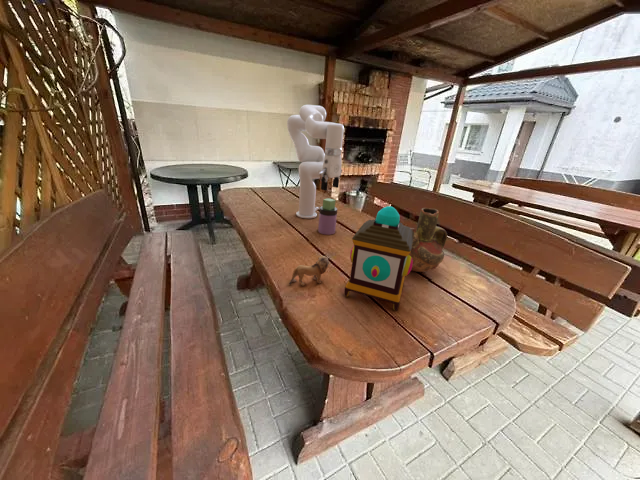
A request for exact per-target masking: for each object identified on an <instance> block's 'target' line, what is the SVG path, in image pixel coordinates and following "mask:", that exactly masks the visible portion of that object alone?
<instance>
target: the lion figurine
mask: <svg viewBox="0 0 640 480" xmlns="http://www.w3.org/2000/svg"><path fill="white" fill-rule="evenodd" d="M329 265H330V261H329V257H327V256H325V255H321V256H319V257H318V259H317V260H316V261H315V263H313V264H311V265H304V264H299V265H297V266H296V267H295V268H294V270H293V272H292V274H291V275H292V276H291V280H290V282H288V285H291V284H292V283H293V282H294V283H295V282H296V279H295V278H296V277H298V283H299V284H300V286H302V287H303V286H305V285H306V284H305V282H303V278H304V277H305V275H306V276H307V277H308V276H309V277H313V280H315V281H316V282H317V284H321V283H322V281H321V276H322V275H323V274H325V273H326V271H327V269H328V267H329Z"/></svg>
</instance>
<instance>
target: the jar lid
mask: <svg viewBox="0 0 640 480" xmlns="http://www.w3.org/2000/svg"><path fill="white" fill-rule="evenodd" d="M318 211H319V213H320V214H323V215H328V216H333V215H336V214H337V215H338V208H337V207H336V206H335V209H332V210H327V209H324V208H323V205H322V206H319V210H318ZM319 213H318V214H319Z"/></svg>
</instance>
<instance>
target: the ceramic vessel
mask: <svg viewBox="0 0 640 480" xmlns="http://www.w3.org/2000/svg"><path fill="white" fill-rule="evenodd" d="M439 212H440V210H438V209H436V208H429V207H422V208H421V209H420V212H419V217H418V221H417V225H416V228H414V227H410V229H412V230H413V232H414V238H413V243H412V248H411V252H410V253H409V255H410V256H411V257H412V260H413V264H412V269H411V271H413V272H422V273H424V272H428V271H430V270H435V269H436V268H437V267H439V265H440V264H441V263H442V262H443V261H444V258H445V251H443V250H444V247H445V244H446V242H447V239H448V233H447V231H446V230H445V229H444V228H442V227H440V226H437V224H438V220H439Z"/></svg>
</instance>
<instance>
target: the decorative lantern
mask: <svg viewBox="0 0 640 480" xmlns="http://www.w3.org/2000/svg"><path fill="white" fill-rule="evenodd" d="M400 219H401V217H400V214H399V212H398V210H397V209H396V208H395V207H393V206H391V205H387V206H385V207H382V208H381V209H380V210H379V211H378V212H377V214H376V217H375V218H374V219H368V220H366V221H365V222H363V224H361V226H360V228H359V229H358V230H357V231H356V233H355V234H354V235H353V236H352V238H351V241H352V244H353V245H352V248H351V249H350V253H349V259H350V262H351V268H350V269H351V270H350V275H349V276H350V277H349V279H348V281H347V283H346V284H345V286H344V289H343V291H344V292H343V295H344V296H345V297H349V296H350V292H352V293H355V294H356V293H357V294H360V295H364V296H367V297H370V298H374V299H377V300H381V301H385V302H387V303H391V304H393V305H392V307H393V308H392V309H393V311H395V312H396V311H398V310H399V307H400V303H401V298H402V293H403V288H404V285H405V284H404V283H405V278H406V276H408V275H409V274H410V273H411V271H412V270H411V269H412V264H413V260H412V257H411V256H410V255H409V253H410V252H411V248H412V243H413V238H414V232H413V230H412V229H410V228H411V227H410V226H407V225H404V224H403V223H402V222H401V220H400Z"/></svg>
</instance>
